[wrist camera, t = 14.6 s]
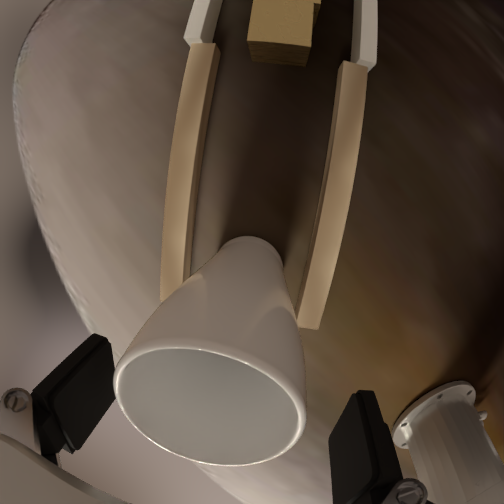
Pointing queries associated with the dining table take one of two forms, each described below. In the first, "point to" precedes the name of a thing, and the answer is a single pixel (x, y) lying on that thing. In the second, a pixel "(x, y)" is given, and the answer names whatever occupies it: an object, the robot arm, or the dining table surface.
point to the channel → (331, 196)
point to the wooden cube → (280, 31)
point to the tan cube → (314, 9)
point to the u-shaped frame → (362, 36)
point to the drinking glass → (220, 363)
